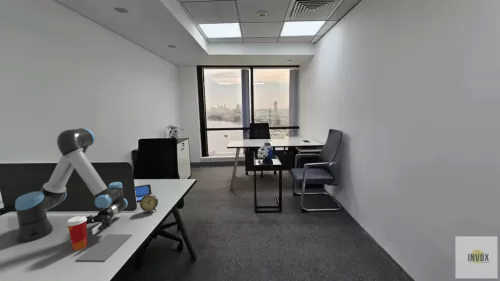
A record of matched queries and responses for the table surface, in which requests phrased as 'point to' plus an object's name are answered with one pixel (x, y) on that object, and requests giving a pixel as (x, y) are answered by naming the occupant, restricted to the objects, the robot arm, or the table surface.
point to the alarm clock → (149, 202)
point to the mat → (104, 247)
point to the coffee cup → (78, 232)
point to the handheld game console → (142, 191)
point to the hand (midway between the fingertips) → (79, 232)
